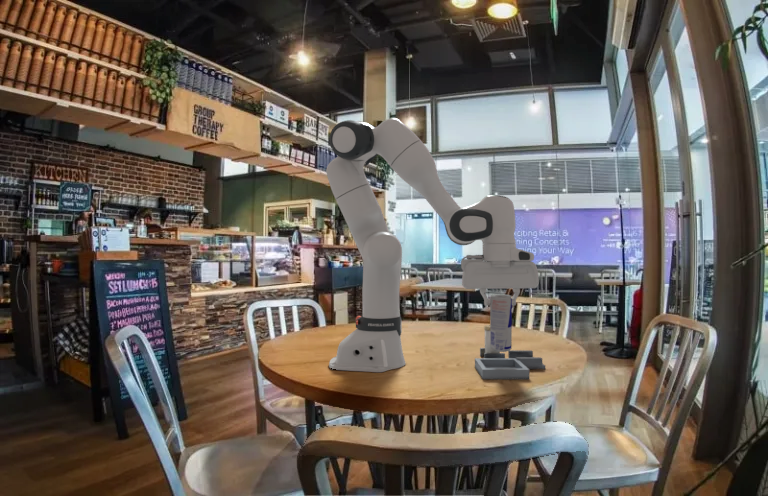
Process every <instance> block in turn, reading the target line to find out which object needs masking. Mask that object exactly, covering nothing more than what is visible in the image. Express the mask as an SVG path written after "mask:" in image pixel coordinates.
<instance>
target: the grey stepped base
mask: <svg viewBox="0 0 768 496" xmlns="http://www.w3.org/2000/svg"><path fill="white" fill-rule="evenodd" d="M507 352H508V353H507V354H508V355H507V357H508V358H516V360H519V361H520V362H521V363H523V364H524V365H525V366H526V367H527V368H528V369H529V370H546V364H544V363H543V357H541V356H540V357H535V356H534V351H533V350H530V349H529V350H524V349H523V350H521V349H520V350H514V349H513V350H512V349H511V350H510V351H507Z"/></svg>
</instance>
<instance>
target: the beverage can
mask: <svg viewBox="0 0 768 496" xmlns="http://www.w3.org/2000/svg"><path fill="white" fill-rule="evenodd" d="M512 297H513V295H510V294H504V293H503V294H502V293H497V294H496V293H495V294H490V299H491V302H490V303H491V305H489V306H490V307H489V308H490V309H489V311H490V314H489V315H490V316H489V318H490V322H489V323H490V348H491V349H493V350H495V351H498V352H500V353H507V352H508V351H510V350H512V347H513V345H512V337H513V336H512V333H513V330H512V328H513V327H512V325H513V323H512V322H513V321H512V319H513V317H512V315H513V311H512V308H513V305H512V299H511V298H512Z"/></svg>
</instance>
